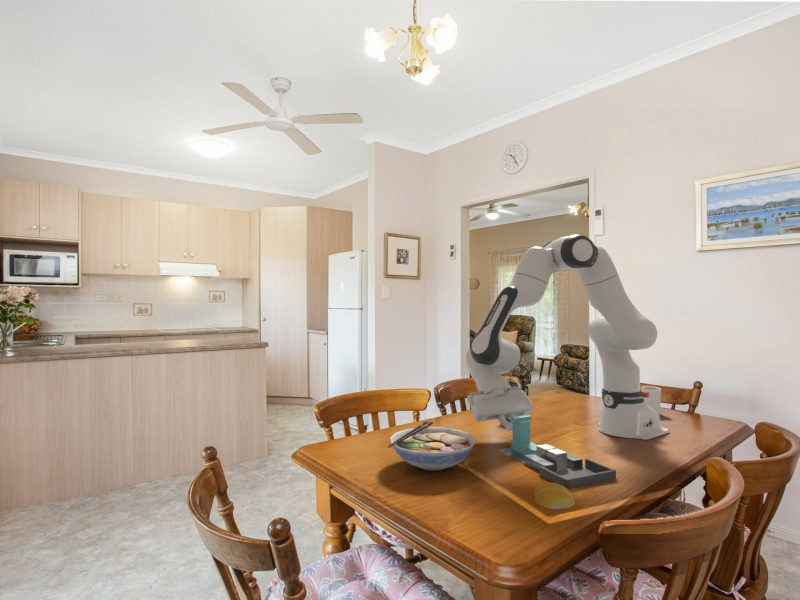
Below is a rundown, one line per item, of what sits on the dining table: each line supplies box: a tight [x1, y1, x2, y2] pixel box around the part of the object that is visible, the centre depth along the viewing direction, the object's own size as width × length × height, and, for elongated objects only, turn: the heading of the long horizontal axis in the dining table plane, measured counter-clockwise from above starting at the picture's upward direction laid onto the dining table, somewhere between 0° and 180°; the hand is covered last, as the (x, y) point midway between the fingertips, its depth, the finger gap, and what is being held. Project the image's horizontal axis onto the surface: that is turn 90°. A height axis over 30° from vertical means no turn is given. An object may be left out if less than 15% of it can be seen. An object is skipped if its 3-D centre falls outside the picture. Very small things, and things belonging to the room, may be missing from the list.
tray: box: [539, 458, 617, 490], centre depth 104 cm, size 15×9×3 cm, turn 112°
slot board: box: [497, 447, 584, 472], centre depth 118 cm, size 12×20×3 cm, turn 22°
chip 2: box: [547, 447, 568, 470], centre depth 111 cm, size 4×4×4 cm
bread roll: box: [533, 481, 576, 510], centre depth 92 cm, size 8×9×4 cm
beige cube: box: [537, 443, 557, 460], centre depth 115 cm, size 4×4×4 cm
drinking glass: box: [641, 385, 662, 416], centre depth 169 cm, size 7×7×10 cm
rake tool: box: [511, 414, 538, 456], centre depth 122 cm, size 6×10×10 cm, turn 22°
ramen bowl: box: [387, 420, 476, 472], centre depth 115 cm, size 25×23×8 cm
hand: (512, 429), depth 128 cm, fingers closed
